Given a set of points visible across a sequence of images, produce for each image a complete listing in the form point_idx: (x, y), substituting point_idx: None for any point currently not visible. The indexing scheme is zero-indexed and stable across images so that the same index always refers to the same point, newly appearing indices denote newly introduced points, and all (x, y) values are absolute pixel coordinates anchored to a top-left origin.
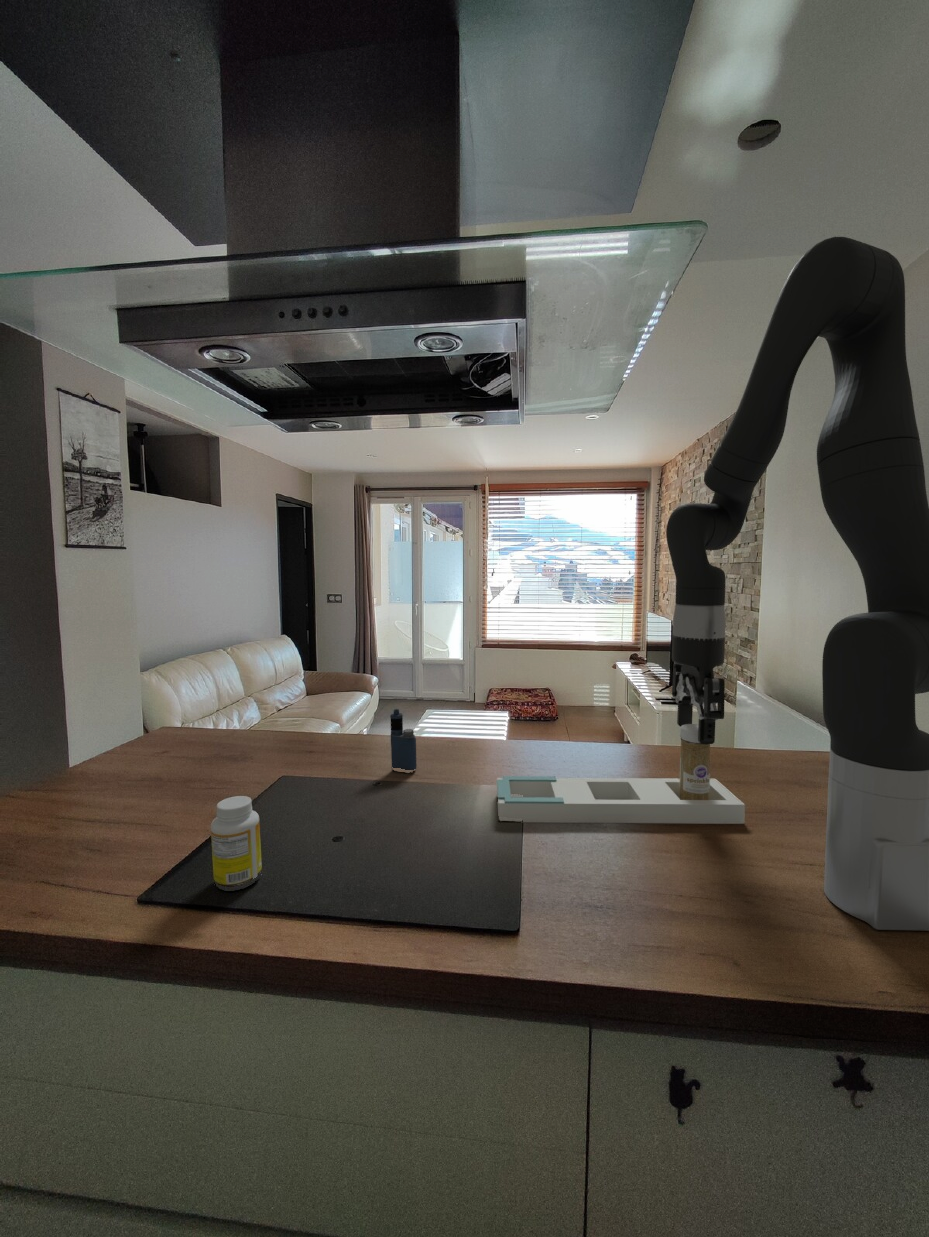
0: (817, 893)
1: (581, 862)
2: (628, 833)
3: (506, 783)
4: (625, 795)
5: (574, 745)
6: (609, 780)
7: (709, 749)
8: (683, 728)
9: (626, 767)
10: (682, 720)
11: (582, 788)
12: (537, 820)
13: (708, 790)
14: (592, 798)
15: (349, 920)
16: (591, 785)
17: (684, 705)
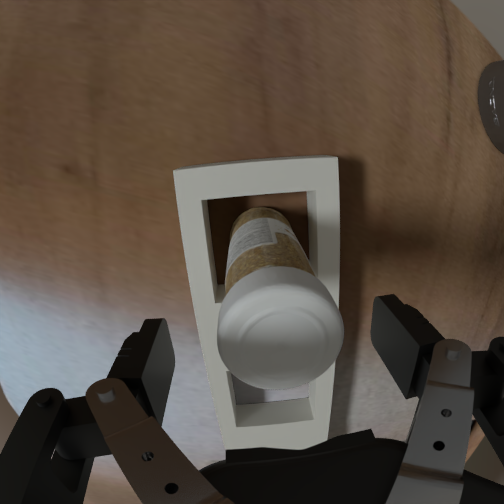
0: (498, 158)
1: (413, 402)
2: (357, 360)
3: None
4: None
5: (5, 374)
6: (224, 398)
7: (301, 263)
8: (294, 387)
9: (64, 318)
10: (169, 366)
11: (269, 432)
12: None
13: (287, 226)
14: (310, 422)
15: None
16: (235, 416)
17: (153, 410)
